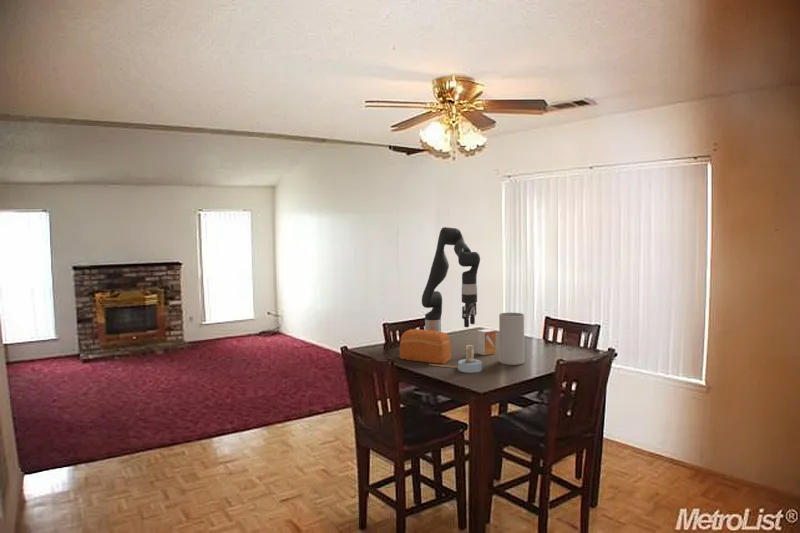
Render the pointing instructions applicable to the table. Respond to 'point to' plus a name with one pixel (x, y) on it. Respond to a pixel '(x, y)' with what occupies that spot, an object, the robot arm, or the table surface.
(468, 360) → the dowel
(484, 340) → the small box
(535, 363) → the table surface
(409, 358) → the bread
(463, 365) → the bead
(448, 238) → the robot arm
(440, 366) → the wooden stick
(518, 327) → the cylinder vase
